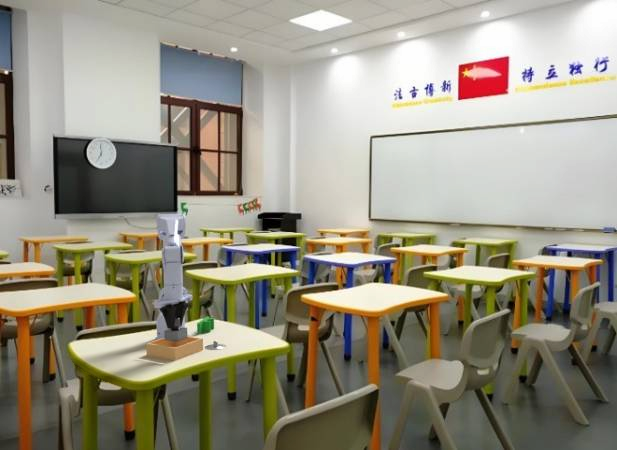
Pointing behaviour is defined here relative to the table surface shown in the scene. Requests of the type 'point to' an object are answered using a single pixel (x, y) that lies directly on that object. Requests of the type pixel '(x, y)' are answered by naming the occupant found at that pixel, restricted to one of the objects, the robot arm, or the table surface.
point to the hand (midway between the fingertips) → (174, 327)
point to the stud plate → (215, 346)
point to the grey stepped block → (176, 332)
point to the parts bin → (174, 348)
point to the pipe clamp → (205, 325)
